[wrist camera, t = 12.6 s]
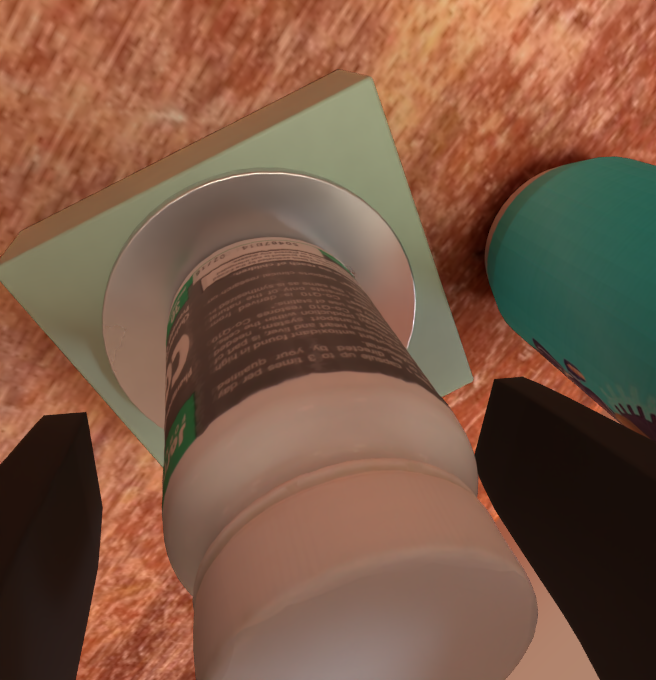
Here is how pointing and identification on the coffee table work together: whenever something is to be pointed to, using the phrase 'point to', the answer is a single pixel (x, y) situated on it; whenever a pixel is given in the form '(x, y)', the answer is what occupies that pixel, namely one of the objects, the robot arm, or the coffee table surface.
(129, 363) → the scale
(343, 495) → the pill bottle
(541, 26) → the coffee table surface
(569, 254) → the beverage can
